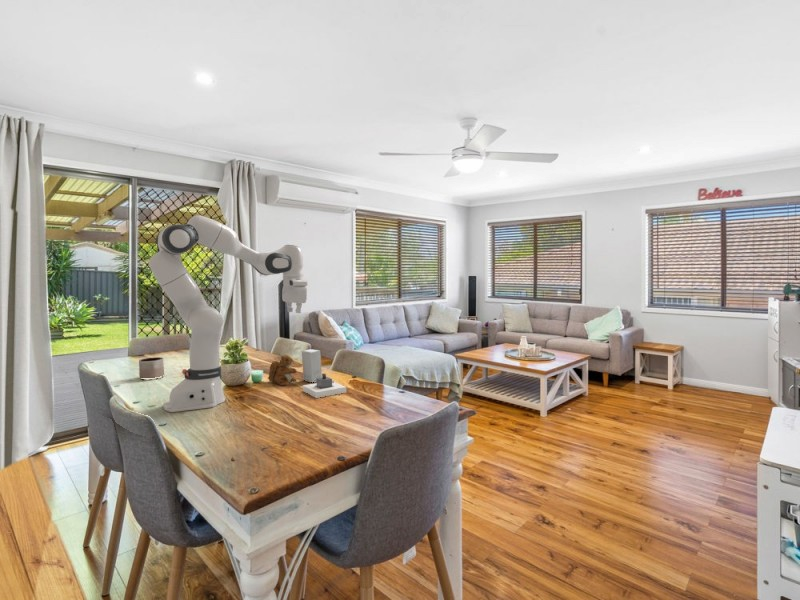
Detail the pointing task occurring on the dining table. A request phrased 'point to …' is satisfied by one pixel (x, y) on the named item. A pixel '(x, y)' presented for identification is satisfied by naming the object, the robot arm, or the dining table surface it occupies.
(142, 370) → the planter
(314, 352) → the skincare box
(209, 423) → the dining table surface
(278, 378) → the stuffed squirrel
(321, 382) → the plug
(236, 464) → the dining table surface
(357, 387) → the dining table surface
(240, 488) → the dining table surface
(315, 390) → the socket plate
